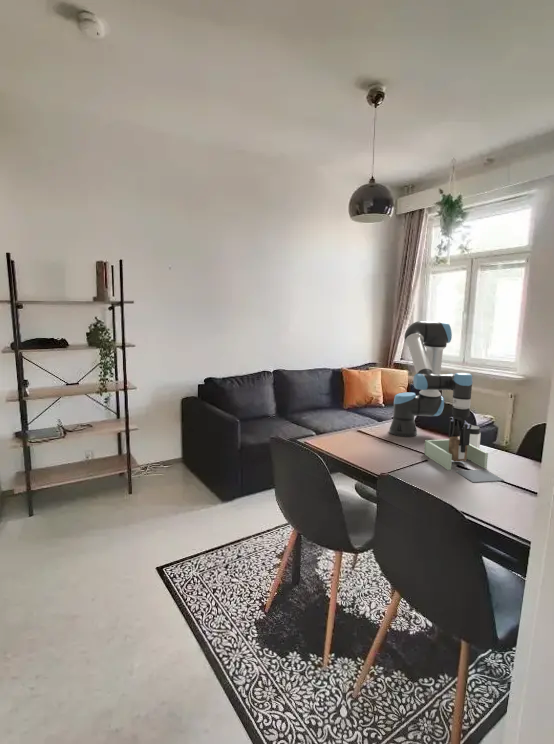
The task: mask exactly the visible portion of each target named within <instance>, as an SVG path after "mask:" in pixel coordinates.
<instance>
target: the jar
mask: <svg viewBox="0 0 554 744" xmlns="http://www.w3.org/2000/svg"><path fill="white" fill-rule="evenodd" d="M481 435H482V434H481V427H479V426H477V425H473V424H471V429H470V441H469V444H471V445H473V446H475V447H477V448H479V449H480V447H481Z"/></svg>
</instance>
